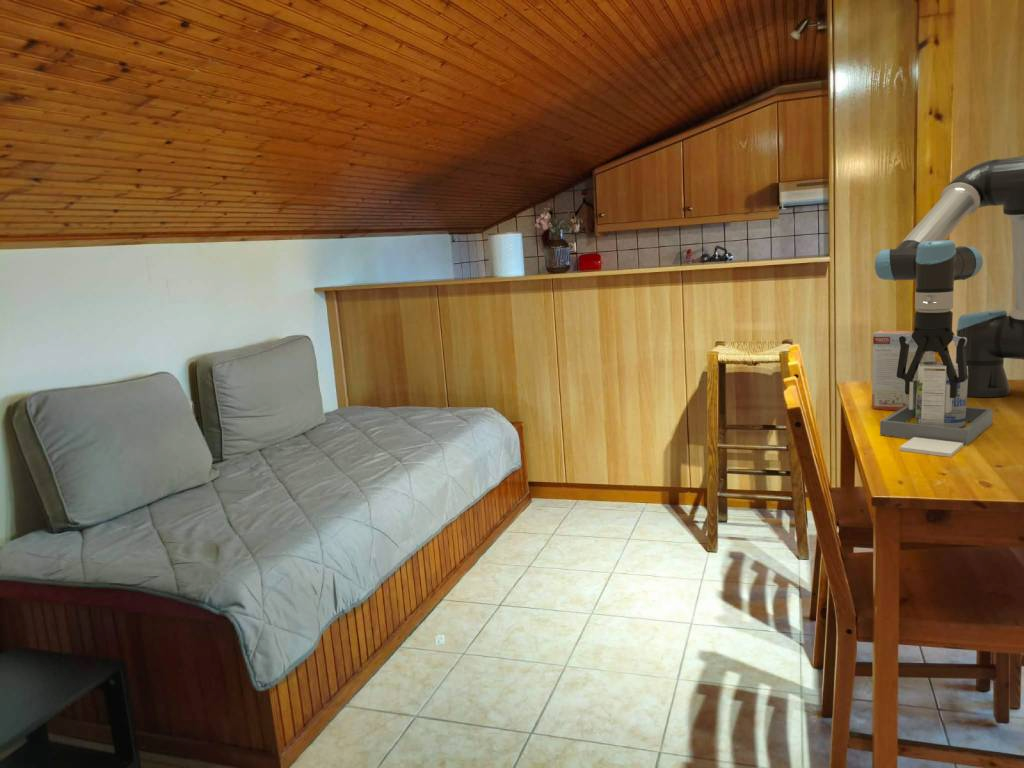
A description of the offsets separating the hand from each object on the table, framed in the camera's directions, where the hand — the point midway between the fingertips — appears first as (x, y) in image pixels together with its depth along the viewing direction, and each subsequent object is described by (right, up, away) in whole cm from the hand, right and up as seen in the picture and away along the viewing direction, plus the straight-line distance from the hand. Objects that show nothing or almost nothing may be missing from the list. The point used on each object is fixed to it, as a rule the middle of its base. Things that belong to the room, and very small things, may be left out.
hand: (930, 409), depth 177 cm
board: (-5, -8, -9) cm, 13 cm away
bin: (+5, -5, +6) cm, 9 cm away
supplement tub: (+8, -4, +9) cm, 13 cm away
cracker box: (+8, -1, +28) cm, 29 cm away
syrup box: (0, -4, +1) cm, 4 cm away
